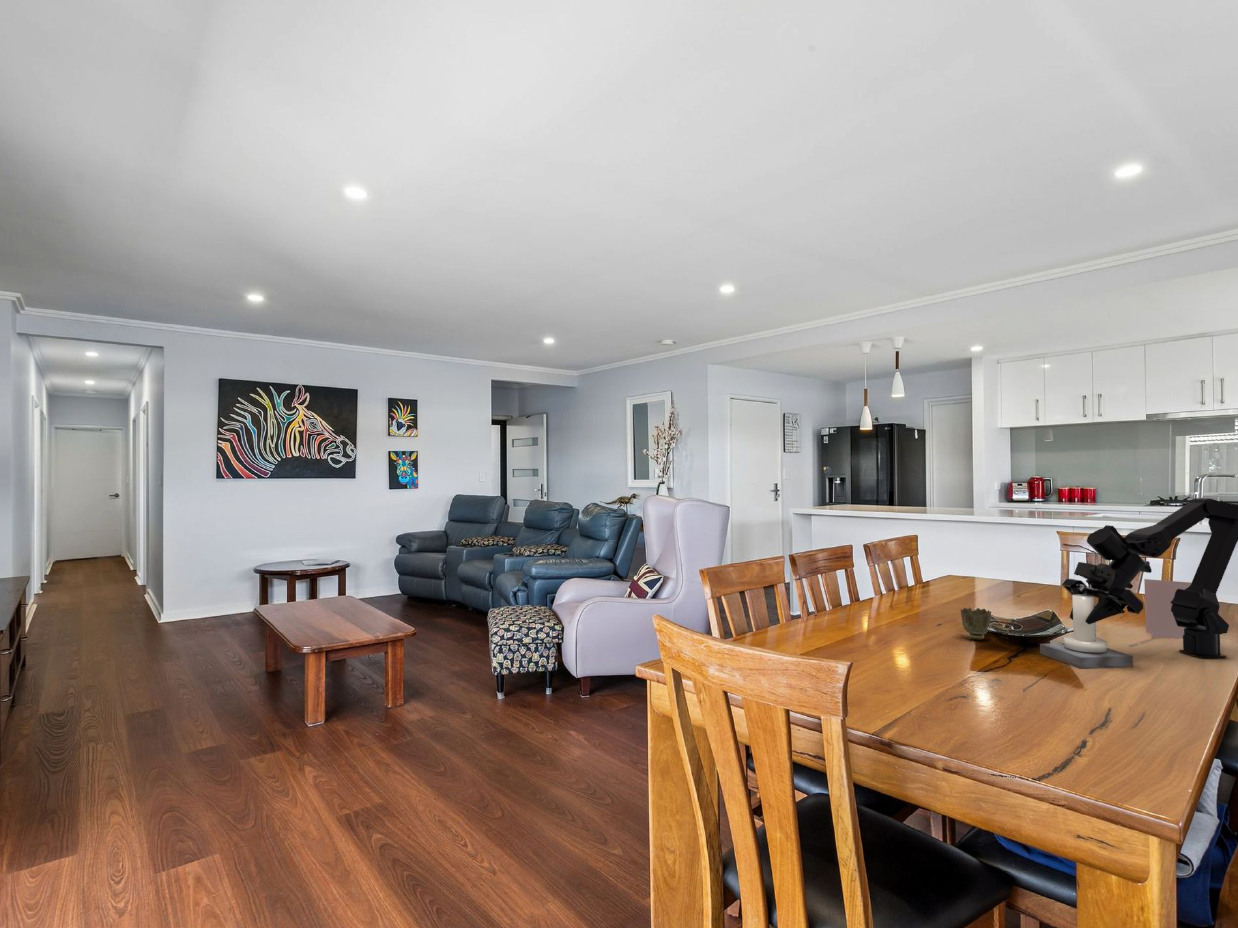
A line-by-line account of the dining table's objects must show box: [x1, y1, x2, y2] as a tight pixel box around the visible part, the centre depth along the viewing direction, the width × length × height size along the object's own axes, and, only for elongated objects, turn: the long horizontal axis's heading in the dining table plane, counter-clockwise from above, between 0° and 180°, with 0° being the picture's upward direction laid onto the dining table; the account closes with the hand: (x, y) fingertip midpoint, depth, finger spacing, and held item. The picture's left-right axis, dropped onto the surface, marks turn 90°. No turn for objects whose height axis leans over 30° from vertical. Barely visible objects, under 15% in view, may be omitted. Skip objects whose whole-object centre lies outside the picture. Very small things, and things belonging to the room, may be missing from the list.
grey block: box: [1039, 642, 1134, 669], centre depth 161 cm, size 13×13×2 cm
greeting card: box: [1144, 578, 1192, 639], centre depth 182 cm, size 11×7×15 cm, turn 46°
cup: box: [960, 607, 992, 641], centre depth 182 cm, size 8×7×8 cm
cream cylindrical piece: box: [1063, 594, 1108, 653], centre depth 161 cm, size 8×8×12 cm
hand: (1079, 620), depth 161 cm, fingers closed on cream cylindrical piece, 4 cm apart
